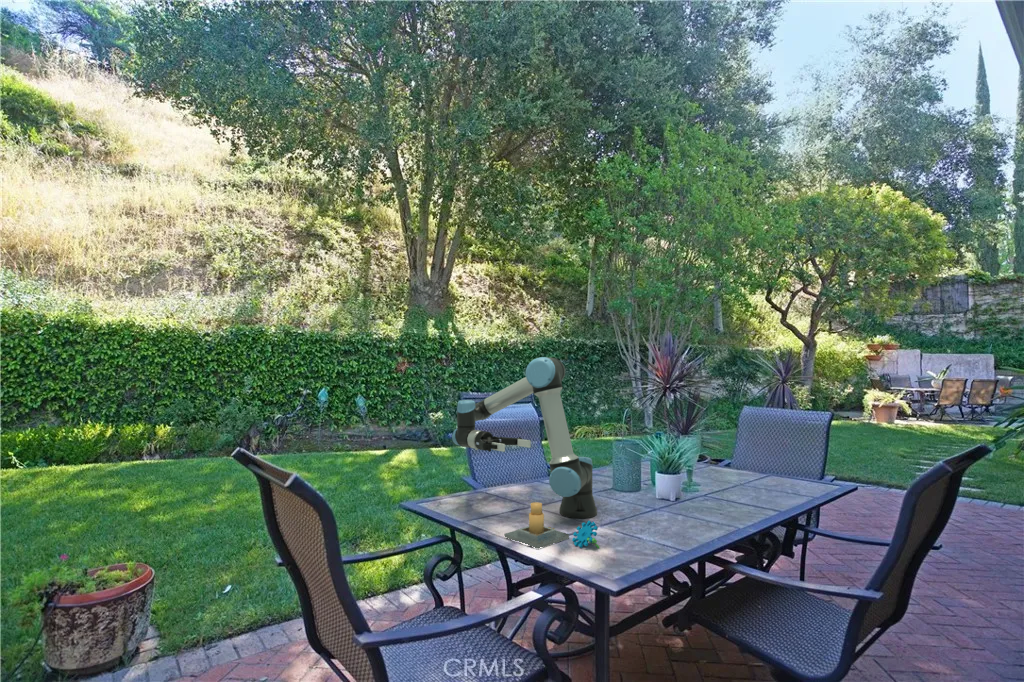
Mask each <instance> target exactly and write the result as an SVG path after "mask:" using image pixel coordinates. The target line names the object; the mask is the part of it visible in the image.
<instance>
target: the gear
mask: <svg viewBox="0 0 1024 682" xmlns="http://www.w3.org/2000/svg"><path fill="white" fill-rule="evenodd" d="M596 524H597V523H596V522H595V521H591V520H588V521H587V522H581V527H580V526H579V525H578V526H577V527H576V530H577V532H576V531H574V532H573V534H572V535H573V536H574V537H572V539H571V541H572V543H573V544H574V546H575V547H579V548H580V549H582V548H583V546H585V547H588V546H589V543H590V544H591V545H592V546H595V547H596V548H597V549H600V545H598V544H597V541H598V540H597V539H596V538H595V537H597V535H598V532H597V531H598V526H597V525H596Z"/></svg>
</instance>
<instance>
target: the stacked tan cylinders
mask: <svg viewBox="0 0 1024 682" xmlns="http://www.w3.org/2000/svg"><path fill="white" fill-rule="evenodd" d="M528 526H529V532H530V533H534V534H540V533H544V526H545V514H544V512H543V503H542V502H537V501H534V502H531V503H530V512H528Z"/></svg>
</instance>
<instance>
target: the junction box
mask: <svg viewBox="0 0 1024 682" xmlns="http://www.w3.org/2000/svg"><path fill="white" fill-rule="evenodd" d="M504 536H505V537H507V538H509V539H512V540H515V541H519V542H522V543H525V544H528V545H530V546H533V547H535V548H540V547H543V546H546V547H548V546H547V545H549V546H551V545H550V544H552V545H554V544H553V543H555V544H557V542H558V543H560V541H561V542H563V540H564V541H566V540H569V539H570V534H568V533H566V532H563V531H559V530H557V529H555V527H551V526H545V525H544V533H540V534H534V533H530V532H529V525H528V526H524V527H521V528H517V529H516V530H512V531H509V532H505V533H504ZM504 536H503V537H504ZM543 548H544V547H543ZM540 549H541V548H540Z"/></svg>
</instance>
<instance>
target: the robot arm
mask: <svg viewBox="0 0 1024 682" xmlns="http://www.w3.org/2000/svg"><path fill="white" fill-rule="evenodd" d="M525 369H526V370H525V377H523V378H521V379H519V380H517V381H515V382H514V383H512V384H509V385H508V386H507V387H504V388H503V389H501V390H499V391H497V392H495V393H494V394H492V395H489V396H488V397H486V398H484V399H482V400H480V401H478V402H477V403H476V401H475V400H470V399H467V400H465V399H464V400H463V399H461V400H458V402H457V407H456V408H457V409H456V417H457V418H456V419H457V420H456V421H457V424H456V428H455V429H454V430H453V432H452V434H451V440H452V442H453V443H454V444H455V445H456V446H460V447H461V448H470V449H474V450H475V451H478V450H480V451H487V452H488V453H489V452H492V451H498V452H503V453H504V452H506V446H517V447H522V448H527V449H528V448H529V449H530V448H531V447H532V446H531V445H532V444H531V443H532V442H531V440H529V439H524V438H523V437H521V436H518V437H506V436H505V437H504V436H499V437H498V436H493V434H492V433H491V432H490V431H485V430H478V429H476V422H477V421H484V420H486V419H488V418H490V417H491V416H492V415H494V414H495V413H498V412H500V411H501V410H504V409H505V408H507V407H509V406H511V405H513V404H515V403H517V402H519V401H521V400H522V399H524V398H526V397H528V396H530V395H532V394H533V395H535V396H536V397H537V398H538V400H539V401H538V402H539V406H540V408H541V409H540V410H541V415H542V418H543V423H544V429H545V433H546V437H547V440H548V441H547V442H548V445H549V446H548V447H549V450H550V454H551V459H550V461H549V462H548V463H549V468H550V475H549V479H548V481H549V486H550V489H551V490H552V491H553V492H554V494H555V495H556V494H557V495H558V496H559V497H562V498H561V499H562V500H561V501H560V502H561V504H560V506H559V514H560V515H561V514H562V515H561V516H563V515H564V517H566V516H567V517H568V518H572V519H588V518H593V517H595V516H597V515H598V507H597V506H596V502H595V498H594V493H593V467H594V466H593V460H592V458H591V457H587V456H578V455H577V454H576V453H574V449H573V444H572V441H571V436H570V432H569V431H570V430H569V428H568V427H569V426H568V423H567V418H566V413H565V410H564V405H563V401H562V397H561V392H562V390H563V383H562V382H563V380H564V378H565V376H566V368H565V365H564V364H563V362H562V361H561V360H559V359H558V358H556V357H547V356H546V357H545V356H541V357H537V358H534V359H532V360H531V361H530V362H529V363H528V364H527V366H526V368H525ZM567 517H566V518H567Z"/></svg>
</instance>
